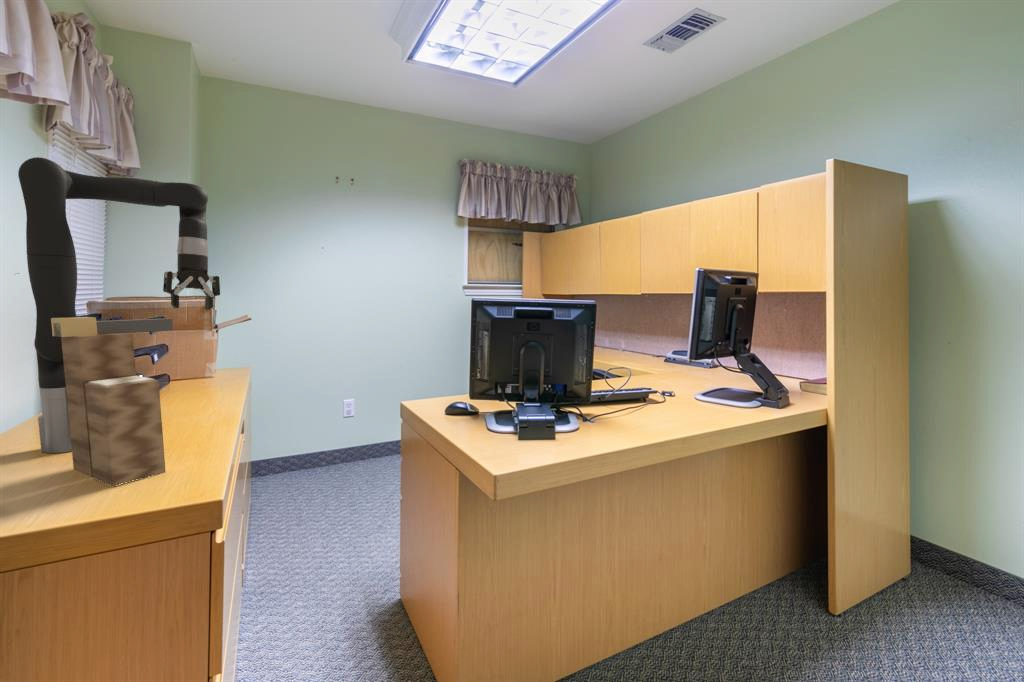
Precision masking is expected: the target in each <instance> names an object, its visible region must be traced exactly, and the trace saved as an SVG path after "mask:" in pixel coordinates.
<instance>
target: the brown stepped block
mask: <svg viewBox="0 0 1024 682" xmlns="http://www.w3.org/2000/svg"><path fill="white" fill-rule="evenodd" d="M61 341H62V351H63V362H64V372H65V383H66V393H67V404H68V414H69V425H70V435H71V446H72V451H71V454H72V456H71V457H72V467H73V470H74V471H75V472H78V473H80V474H83V475H84V476H87V477H89V476H90V477H89V478H93V479H94V478H95V479H94V480H96V479H97V480H96V481H98V480H100V481H99V482H101V481H102V482H101V483H103V482H104V483H103V484H105V483H106V485H107V484H109V485H108V486H110V485H111V486H110V487H112V486H115V487H117V486H116V485H119V484H121V483H125V482H129V481H132V480H136V479H140V478H143V479H146V478H145V477H147V478H149V477H148V476H150V477H153V476H152V475H154V476H157V475H160V473H161V474H164V473H166V459H165V448H164V447H165V445H164V434H163V420H162V408H161V395H160V394H161V392H160V382H159V380H157V379H155V378H152V377H147V376H146V377H147V378H146V377H141V376H136V371H137V370H136V360H135V357H136V356H135V348H134V347H135V346H134V345H135V344H134V333H119V334H102V335H89V336H72V337H61ZM156 474H157V475H156ZM140 480H141V479H140ZM136 481H137V480H136ZM129 483H130V482H129ZM119 486H120V485H119Z"/></svg>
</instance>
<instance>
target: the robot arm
mask: <svg viewBox="0 0 1024 682" xmlns="http://www.w3.org/2000/svg"><path fill="white" fill-rule="evenodd" d="M17 176H18V180H19V185H20V188H21V191H22V196H23V202H24V206H25V213H26V214H25V215H26V223H25V225H26V227H25V228H26V229H25V230H26V231H25V235H26V236H25V238H26V239H25V240H26V241H25V242H26V245H25V246H26V261H27V262H26V263H27V270H28V277H29V282H30V287H31V291H32V295H33V298H34V303H35V312H36V318H35V319H36V320H35V322H36V324H35V337H34V344H33V346H34V349H35V351H36V360H37V361H36V362H37V371H38V372H37V375H38V376H37V378H38V379H37V380H38V388H39V397H40V404H41V406H40V407H41V415H39V416H38V417H37V421H38V422H37V423H38V430H39V431H38V433H39V434H38V435H39V442H40V452H41V453H48V454H61V453H68V452H69V453H70V452H72V446H71V435H70V425H69V414H68V404H67V393H66V383H65V372H64V362H63V351H62V341H61V337H58V336H53V334H52V323H51V318H73V317H77V312H76V301H77V300H76V298H77V290H78V289H77V288H78V265H77V264H78V263H77V254H76V248H75V243H74V240H73V235H72V233H71V229H70V226H69V224H68V220H67V219H68V218H67V210H66V209H67V207H66V205H67V202H66V201H67V200H97V201H109V202H118V203H126V204H132V205H141V206H148V207H149V206H150V207H161V208H162V207H167V206H169V207H170V206H172V207H178V208H179V211H178V213H179V222H178V241H177V249H176V251H177V252H176V254H177V260H176V262H177V264H176V265H177V266H176V267H177V271H176V272H173V271H172V270H171V271H165V272H164V273H163V274H164V276H163V286H162V292H163V293H167V294H169V295H170V305H171V307H173V309H179V308H180V295H179V294H180V293H181V292H182V291H183V290H184V289H194V290H200V291H201V292H202V293H203V294H204V295H205V296H206V297H204V298H205V299H204V300H205V301H204V302H205V303H204V304H205V306H204V308H205V310H206V311H210V310H212V308H213V306H214V298H215V297H216V296H218V297H219V296H220V295H221V283H220V282H221V281H220V276H218V275H212V276H211V275H209V274H208V271H209V246H208V225H207V222H206V221H207V205H208V202H209V201H208V200H209V195H208V193H207V191H206V190H205V189H204V188H202V187H201V186H200V185H197V184H193V183H189V182H162V181H157V180H150V179H144V178H143V179H142V178H134V177H123V176H122V177H121V176H120V177H118V176H117V177H116V176H115V177H113V176H112V177H111V176H109V177H108V176H94V175H88V174H82V173H78V172H73V171H69V170H66V169H64V168H63V167H62V166H61V165H59V164H58V163H56V162H55V161H53V160H51V159H48V158H44V157H31V158H28V159H27V160H24V161H23V162H22V164H21V165H20V166H19V168H18V175H17ZM175 278H176V280H177V281H178V282H177V284H175V285H174V287H173V280H175ZM208 281H209V283H210V284H211V288H210V286H209V285H208V284H207V283H208ZM172 287H173V289H172Z"/></svg>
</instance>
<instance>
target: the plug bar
mask: <svg viewBox="0 0 1024 682" xmlns="http://www.w3.org/2000/svg"><path fill="white" fill-rule="evenodd" d="M51 323H52V334H53V336H58V337H72V336H89V335H102V334H119V333H133V334H135V333H150V332H151V333H152V332H153V333H154V332H167V331H169V332H170V331H174V325H173V318H165V317H164V318H144V319H143V318H140V319H117V320H115V319H113V320H97V317H94V316H93V317H92V316H89V317H88V316H79V317H77V316H76V317H73V318H51Z"/></svg>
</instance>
